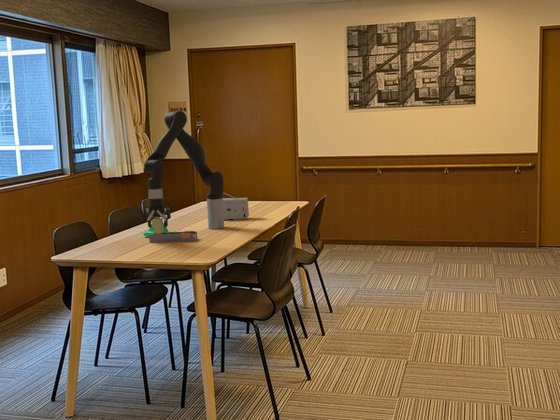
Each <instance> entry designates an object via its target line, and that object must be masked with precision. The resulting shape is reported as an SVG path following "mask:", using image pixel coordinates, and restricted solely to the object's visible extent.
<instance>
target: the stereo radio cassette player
mask: <svg viewBox="0 0 560 420" xmlns="http://www.w3.org/2000/svg"><path fill="white" fill-rule="evenodd" d="M223 194H225V195H227V196H229V198H228V197H227V198H226V197H225V198H224V197H223V213H224V221H226V220H227V221H228V220H229V219H233V220H246V219H248V218H249V215H250V212H249V211H250V210H249V198H248V197H235V196H232V195H230V194H228V193H226V192H223ZM247 217H248V218H247ZM229 221H230V220H229Z"/></svg>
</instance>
